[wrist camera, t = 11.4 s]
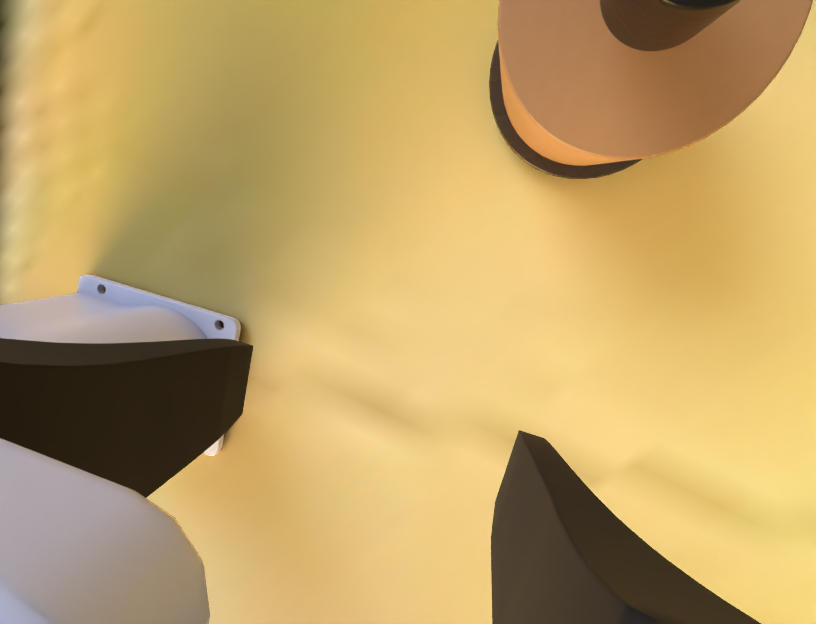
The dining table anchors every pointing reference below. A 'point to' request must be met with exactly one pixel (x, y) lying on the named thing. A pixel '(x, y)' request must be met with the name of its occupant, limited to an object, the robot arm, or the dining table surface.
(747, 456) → the dining table surface
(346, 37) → the dining table surface
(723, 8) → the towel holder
